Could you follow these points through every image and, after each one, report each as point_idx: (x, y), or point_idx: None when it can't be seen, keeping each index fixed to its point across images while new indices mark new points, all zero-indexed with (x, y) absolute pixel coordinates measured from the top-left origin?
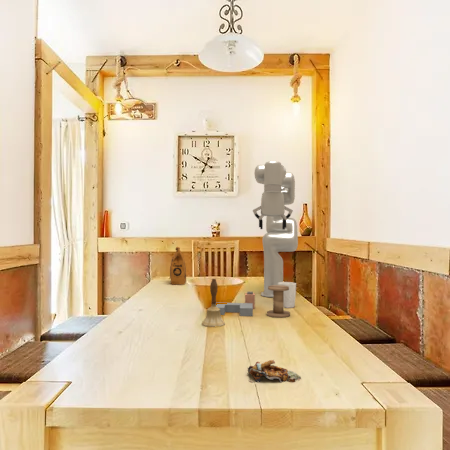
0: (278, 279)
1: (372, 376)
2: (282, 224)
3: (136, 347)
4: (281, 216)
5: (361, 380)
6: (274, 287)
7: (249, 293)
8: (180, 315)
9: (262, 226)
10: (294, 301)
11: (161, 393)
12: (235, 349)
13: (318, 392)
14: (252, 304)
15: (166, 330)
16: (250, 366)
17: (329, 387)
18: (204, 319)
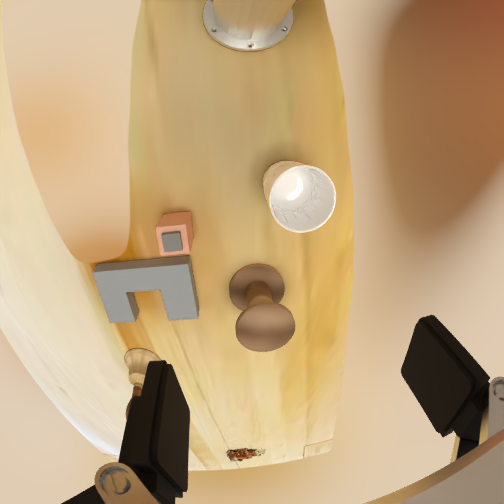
0: (275, 18)
1: (316, 439)
2: (444, 357)
3: (113, 425)
4: (479, 444)
5: (306, 444)
6: (254, 343)
7: (172, 250)
8: (66, 317)
9: (188, 430)
10: (310, 193)
11: None
12: (206, 427)
13: (273, 457)
14: (190, 279)
15: (101, 387)
16: (229, 455)
17: (281, 453)
18: (128, 367)
